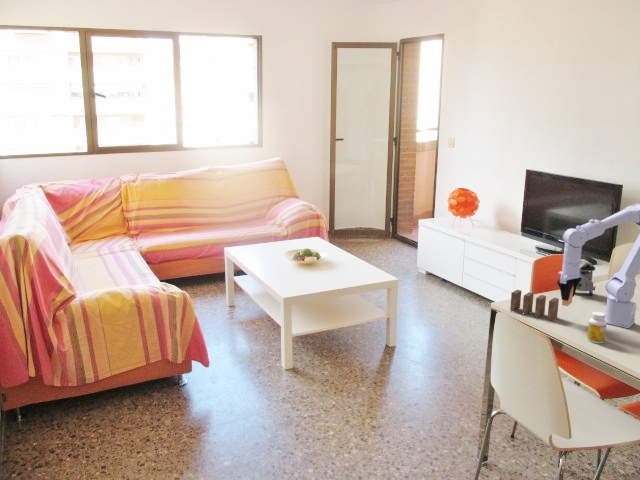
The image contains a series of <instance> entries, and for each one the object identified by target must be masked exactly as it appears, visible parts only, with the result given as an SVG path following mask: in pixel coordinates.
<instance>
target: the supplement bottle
mask: <svg viewBox="0 0 640 480" xmlns="http://www.w3.org/2000/svg"><path fill="white" fill-rule="evenodd" d="M591 314H592V315H591V318H590V319H589V320H588V328H587V336H586V338H587V341H588V342H590V343H594V344H604V342H605V340H606V332H607V322H606V321H605V320H604V319H605V315H606V313H604V312H601V311H593V312H592V313H591Z"/></svg>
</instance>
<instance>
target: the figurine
mask: <svg viewBox="0 0 640 480" xmlns="http://www.w3.org/2000/svg"><path fill="white" fill-rule="evenodd" d="M579 270H580V273H579V277H580V278H582V280H581V281H580V283H579V284H578V286H577V289H576V291H579V292H588V295H589V297H593V296H594V291H596V285H594V281H593V272H595V270H596V267H595V264H593V262H589V261H588V260H586V259H585V258H581V259H580V269H579Z"/></svg>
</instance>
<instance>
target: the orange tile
mask: <svg viewBox="0 0 640 480" xmlns="http://www.w3.org/2000/svg"><path fill="white" fill-rule="evenodd" d="M573 288H574V286H573ZM573 288H572V290H571V293H570V297H569V300H568V301H566V300H562V301H561V302H562V303H561V305H562V306H563V307H564V306H565V307H568V306H569V305H571V304H572V303H573V298H574V297H573Z"/></svg>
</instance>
